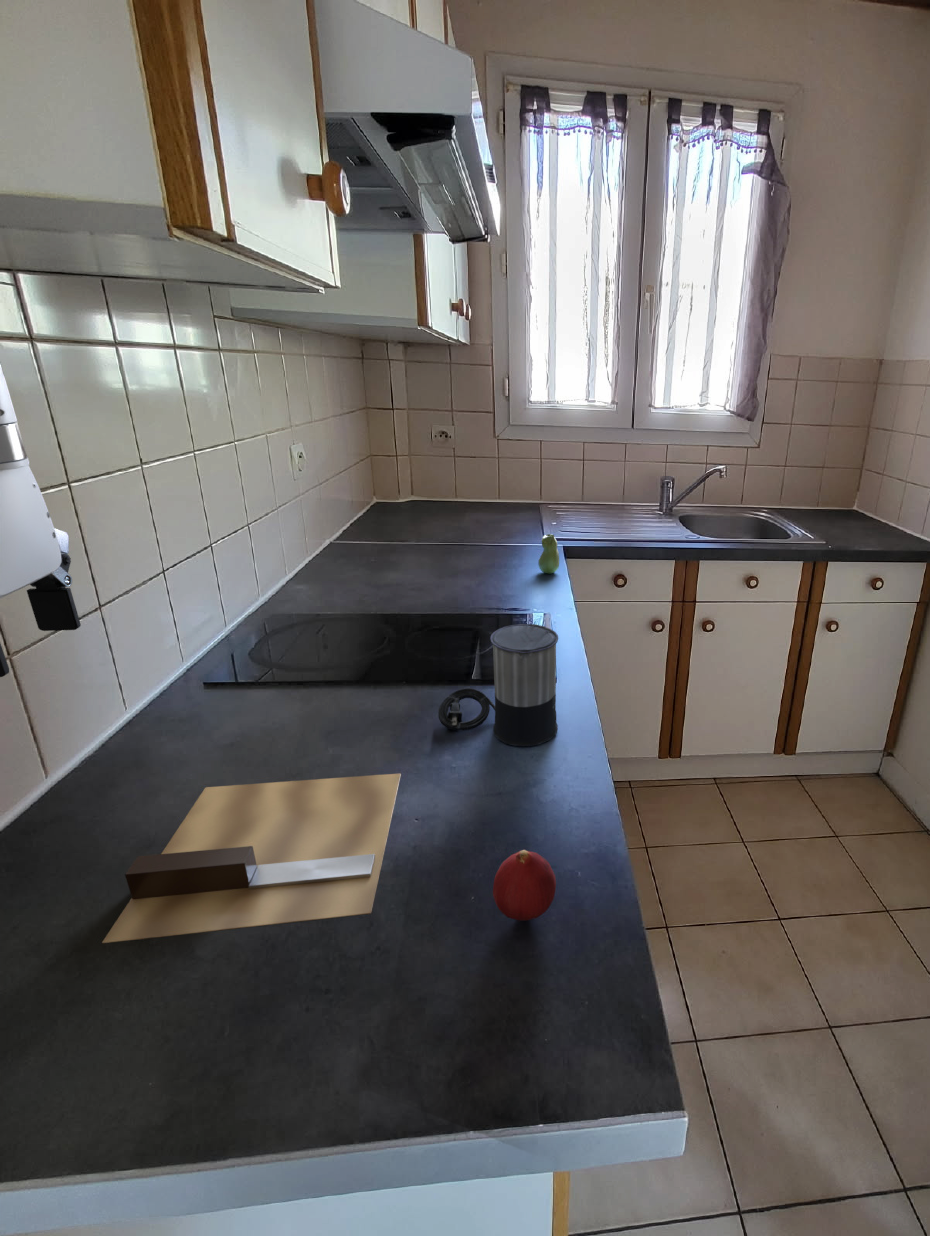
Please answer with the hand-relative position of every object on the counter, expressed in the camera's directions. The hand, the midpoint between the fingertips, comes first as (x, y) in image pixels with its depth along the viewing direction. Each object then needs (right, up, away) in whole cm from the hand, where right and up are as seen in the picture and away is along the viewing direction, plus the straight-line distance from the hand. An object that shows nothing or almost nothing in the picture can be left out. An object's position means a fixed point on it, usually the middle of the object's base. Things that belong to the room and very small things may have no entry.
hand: (25, 650), depth 55 cm
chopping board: (+16, -22, +12) cm, 30 cm away
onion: (+42, -26, +6) cm, 50 cm away
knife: (+16, -22, +7) cm, 29 cm away
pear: (+34, +14, +107) cm, 113 cm away
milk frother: (+34, -13, +37) cm, 52 cm away
